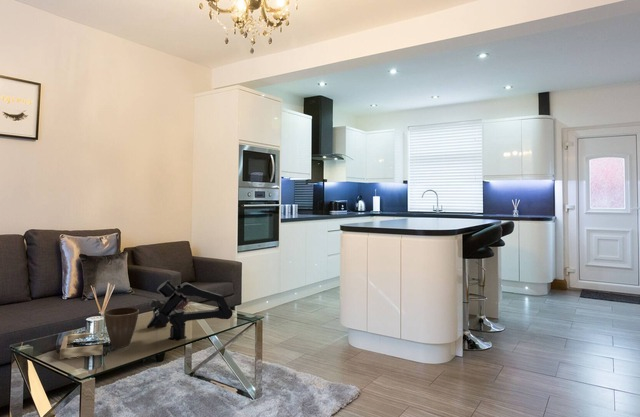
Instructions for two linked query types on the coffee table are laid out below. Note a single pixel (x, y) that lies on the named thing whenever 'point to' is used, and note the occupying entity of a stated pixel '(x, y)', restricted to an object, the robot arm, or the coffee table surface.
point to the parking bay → (78, 351)
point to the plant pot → (121, 325)
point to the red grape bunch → (182, 304)
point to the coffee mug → (160, 324)
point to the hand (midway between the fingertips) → (147, 327)
